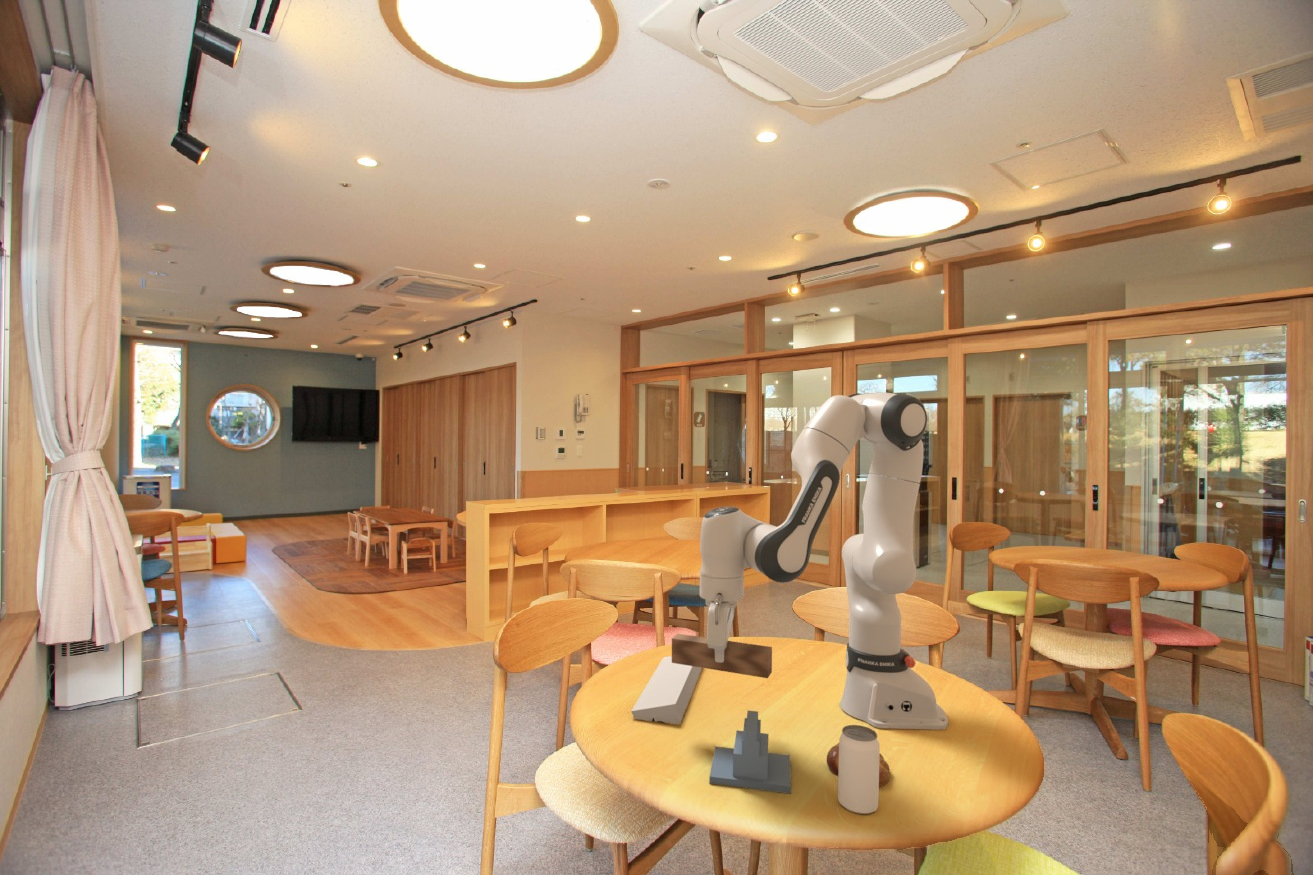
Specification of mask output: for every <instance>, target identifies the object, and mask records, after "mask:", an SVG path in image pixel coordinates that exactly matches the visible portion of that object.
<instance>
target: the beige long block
mask: <svg viewBox="0 0 1313 875" xmlns="http://www.w3.org/2000/svg"><path fill="white" fill-rule="evenodd" d="M702 670H703V668H701V667H695V666H689V665H682V664H676V663H672V655H669V656H664V657H662V658H661V660H660V662H659V664H658V666H657V667H656V668H655V670H654V673H653V674H652V676H651V677H650V679H649V681H648V683H647V684H646V685H645V687H644V688H643V691H642V693H641V694H640V696H639V697H638V699H637V701H636V703H634V706H633V707H632V709H631V710H630V712H631V714H632V716H633V718H634V720H636V719H638V720H642V721H644V720H645V721H646V722H653V720H654V723H657V722H663V723H664V724H668V723H672V724H671V725H677V724H679V725H678V726H680V725H681V723H682V720H683V718H684V716H683V715H685V713H686V711H685V710H687V708H688V706H689V702H690V700H691V697H692V695H693V693H694V691H695V688H696V685H697V683H698V680H699V677H700V675H701V672H702Z"/></svg>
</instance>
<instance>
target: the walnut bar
mask: <svg viewBox="0 0 1313 875" xmlns="http://www.w3.org/2000/svg"><path fill="white" fill-rule="evenodd" d="M724 651H725V658H724V662H722V663H720V662H716V661H715V651H714V649H713V648H709V647H708V645H707V637H705V636H704V637H703V636H697V635H690V634H683V633H677V634H676V635H674V636H672V638H671V656H672V663H676V664H682V665H689V666H695V667H701V668H702V669H707V670H708V669H709V670H714V671H719V672H727V673H731V674H739V675H745V676H750V677H751V676H752V677H757V678H764V679H768V678H769V677H770V676H771V674H772V673H773V670H772V669H773V662H772V661H773V647H772V646H767V645H761V644H752V643H746V642H738V641H732V640H728V642H727V646H726V648H725V650H724Z"/></svg>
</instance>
